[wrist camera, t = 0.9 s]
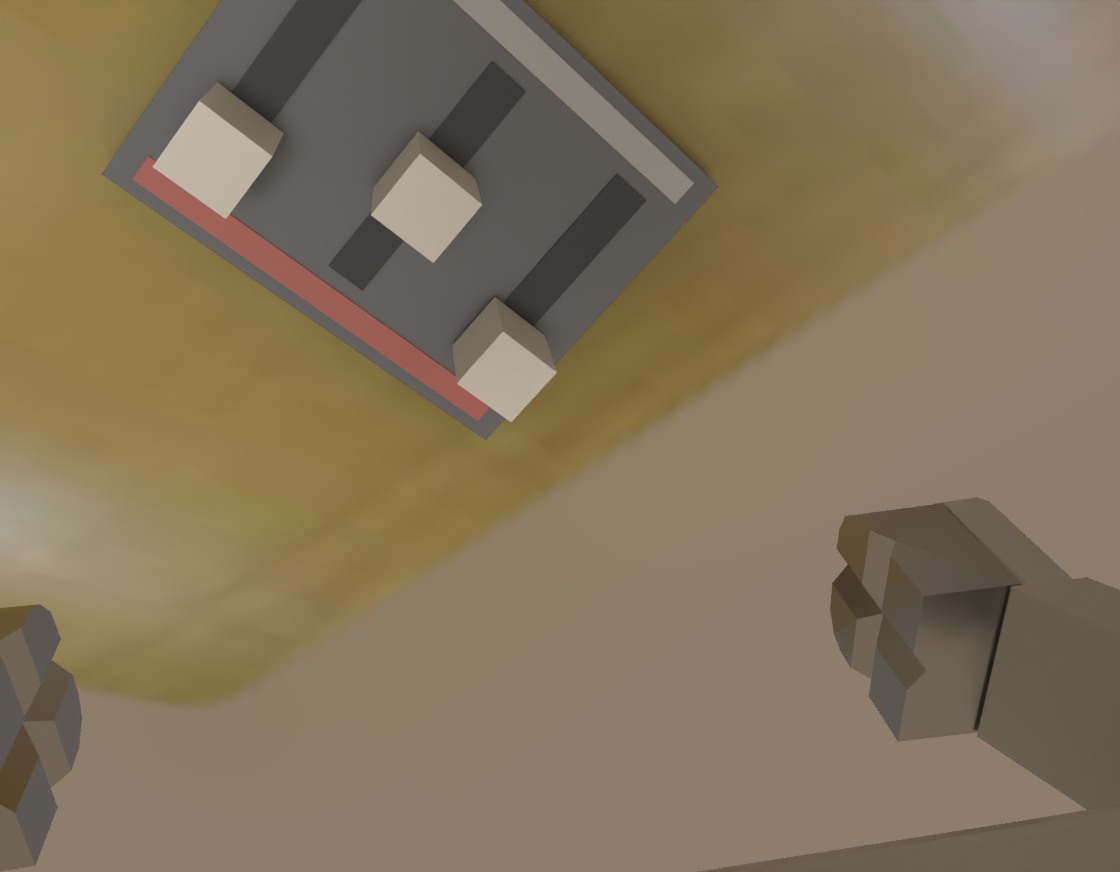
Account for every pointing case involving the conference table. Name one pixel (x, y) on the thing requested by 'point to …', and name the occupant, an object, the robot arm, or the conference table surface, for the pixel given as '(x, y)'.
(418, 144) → the block
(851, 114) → the conference table surface
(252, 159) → the block
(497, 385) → the block
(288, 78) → the panel
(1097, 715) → the robot arm
